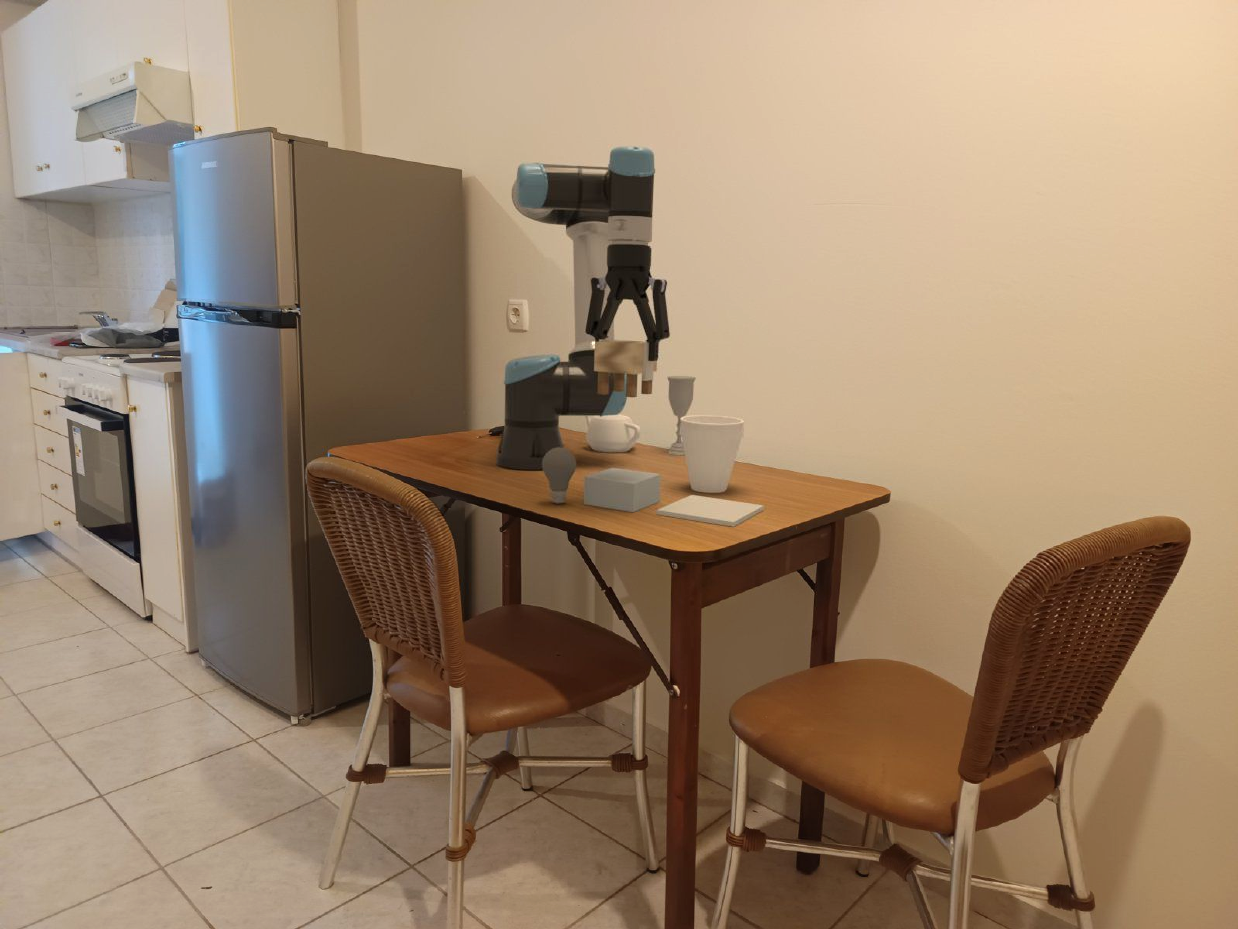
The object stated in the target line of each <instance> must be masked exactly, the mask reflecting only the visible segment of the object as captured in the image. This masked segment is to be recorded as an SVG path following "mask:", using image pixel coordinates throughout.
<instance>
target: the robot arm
mask: <svg viewBox="0 0 1238 929" xmlns="http://www.w3.org/2000/svg"><path fill="white" fill-rule="evenodd" d="M655 173H656V168H655V153H654V152H653V150H651V149H650V148H648V147H642V146H630V145H628V146H617V147H614V148H612V149H611V151H610V153H609V163H608V166H605V167H604V166H593V165H591V166H587V165H567V164H566V165H565V164H564V165H563V164H554V163H553V164H549V163H540V162H531V163H527V162H526V163H525V162H523V163H521V164H519V165H518V167H517V172H516V180H515V181H514V182H513V185H512V188H511V199H512V203H513V206H514V207H515V209H516V210H517V211H518V212H519V213H520V214H522V216H524V217H525V218H528V219H530V220H533V221H536V222H539V223H542V224H548V225H559V226H560V225H561V226H565V233H566V235H567V237H568V238H569V239H570V240H572V245H573V246H572V247H573V250H572V253H573V293H574V294H573V295H574V297H573V298H574V299H573V300H574V302H573V303H574V304H573V305H574V348H572V350H571V351H569V353H568V356H567V357H568V358H567V360H568V361H561V357H560V355H558V354H539V355H531V356H524V357H523V356H522V357H517V358H513V359H511V360H510V361H508V362H507V363H506V365H505V369H504V380H503V384H504V428H503V429H504V430H503V431H502V435H501V438H500V442H499V443H498V444H499V445H498V449H497V450H496V454H495V456H496V465H497V466H500V467H503V468H508V469H513V470H529V471H531V470H543V468H542V461H543V458H544V456H545V455H546V453H547V452H548V451H550V450H551V449H553V448H558V447H561V448H565V445H564V441H563V439H562V436H561V431H560V425H559V424H560V423H559V422H560V420H559V419H560V416H569V417H572V416H574V417H576V416H577V417H579V416H580V417H581V416H582V417H583V416H584V417H585V416H591V417H592V416H593V417H594V416H600V417H602V416H608V415H618V414H619V415H620V414H621V413H622V412H623V410H624V408H625V405H626V402H627V398H628V397H626V374H625V384H624V391H622V392H617V391H614V373H612V372H609V394H606V395H602V394H598V371H594V353H595V342H599V341H611V340H615V318H616V315H617V312H618V310H619V307H620V305H622V303H623V302H624V300H628V301H632V302H633V304H634V305H635V307H636V310H637V313H638V315H639V318H640V321H641V325H642V327H643V331H644V333H645V336H646V339H645V341H642V342H643V366H642V373H641V382H642V381H648V380H652V381H653V380H654V372H653V369H654V361H657V362H658V360H659V350H660V349H659V346H660V345H659V344H660V342H661V341H663V340H665V339H668V338H670V335H671V334H670V333H671V332H670V325H669V317H668V315H669V314H668V306H667V300H666V299H667V298H666V292H667V291H666V290H667V288H668V287H667V286H668V282H667V280H666V279H664V278H663V279H661V278H655V277H653V276H652V274H651V267H652V250H653V248H652V247H651V245H649V243H652V242H653V212H654V210H653V209H654V206H653V205H654V185H655V184H654V182H655ZM649 287H650V290H651V291H652V293H651V294H652V302H653V312H652V308H651V306H650V303H649V302H650V300H649V297H648V294H647V290H648V288H649ZM653 313H654V316H653Z"/></svg>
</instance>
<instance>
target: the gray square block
mask: <svg viewBox="0 0 1238 929" xmlns="http://www.w3.org/2000/svg"><path fill="white" fill-rule="evenodd" d="M583 478H584V480H583V481H584V482H583V505H586V506H591V507H592V506H593V507H599V508H605V509H611V510H616V511H623V512H628V513H629V512H630V513H635V512H637V511H640V510H643V509H645V508H647V507H649V506H651V505H654V504H657V503H660V502H661V483H662V482H661V481H662V480H661V478H662V475H661V473H654V472H647V471H641V470H640V471H638V470H631V469H625V468H617V467H610V468H608V469H603V470H601V471H597V472H595V473H592V474H589V475H585V476H583Z"/></svg>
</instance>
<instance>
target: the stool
mask: <svg viewBox="0 0 1238 929" xmlns="http://www.w3.org/2000/svg"><path fill="white" fill-rule="evenodd" d="M643 342H644V341H638V340H625V339H624V340H623V339H614V340H611V341H599V342H595V353H594V371H598V394H602V395H606V394H609V372H612V373H614V391H617V392H622V391H624V384H625V374H626V397H627V398H637V397H638V375H642V366H643ZM657 367H658V360H657V361H654V369H653V373H654V372H657V369H658V368H657ZM640 393H641V395H652V394H653V380H648V381H642V380H641V391H640Z"/></svg>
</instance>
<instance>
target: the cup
mask: <svg viewBox="0 0 1238 929" xmlns="http://www.w3.org/2000/svg"><path fill="white" fill-rule="evenodd" d="M680 421H681V424H680V433H679V434H680V435H681V441H682V443H683V447H684V452H685V455H684V456H685V462H686V466H687V467H686V469H687V472H688V479H689V483H690V488H691V490H692V491H695V492H699V493H707V494H715V493H717V494H718V493H723V492H726V491H727V488H728V485H729V482H730V478H731V475H732V471H733V469H734V464H735V461H736V457H737V455H738V454H737V453H738V451H739V449H740V448H739V446H740V444H741V440H742V438H744V423H745V422H744V419H741V418H738V417H733V416H725V415H717V414H716V415H714V414H713V415H711V414H710V415H709V414H694V415H685V416H683V417H681V419H680Z"/></svg>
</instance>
